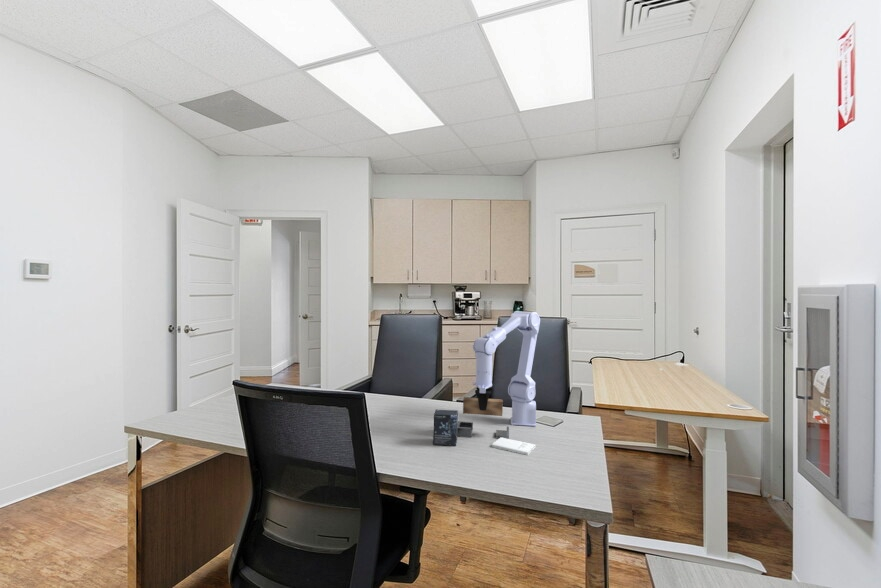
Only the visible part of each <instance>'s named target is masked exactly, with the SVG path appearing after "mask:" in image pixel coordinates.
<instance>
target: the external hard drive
mask: <svg viewBox="0 0 881 588" xmlns="http://www.w3.org/2000/svg"><path fill="white" fill-rule="evenodd" d="M536 447H537V445H536V444H535V443H530V442H529V443H528V442H524V441H520V440H516V439H511V438H509V439H507V438H502V437H500V438H497V439H496V441H495V440H494V442H493V443H491V448H494V449H498V450H502V449H503V451H507V450H508V452H511V451H512V453H516V452H517V453H516V454H520V453H521V455H526V456H529V455H530V454H531V453H532V451H534V449H535V448H536Z"/></svg>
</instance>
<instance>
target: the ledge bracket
mask: <svg viewBox="0 0 881 588" xmlns="http://www.w3.org/2000/svg"><path fill="white" fill-rule="evenodd" d="M509 434H510V426H506V430H504V429H503V430H502V429H496V430H495V439H499V438H500V437H502V438H507V439H510V438H509V436H510V435H509Z"/></svg>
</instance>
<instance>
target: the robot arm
mask: <svg viewBox="0 0 881 588" xmlns="http://www.w3.org/2000/svg"><path fill="white" fill-rule="evenodd" d="M540 324H541V318H540V316H539V313H537V312H536V311H520V310H516V311H513V312H512V313H511V314H510V318H509V319H507V320H506V321H505V322H504V323H503V324H502V325H501V326H494V327H492V328H491V330H490V331H489V332H488V333H485V334H484V336H482V337H478V338H476V339H475V340H474V342H473V345H472V350H473V352H474V356H475V359H476V362H475V363H476V364H475V381H473V382H472V386H475V387H476V389H475V391H474V393H475V395H476V398H478V402H479V408H480V410H484V411H486V408H487V402H488V399H490V395H491V394H492V389H493V354H495V352H496V350H497V348H498V346H499V345H500V344H501V343H503V342H504V341H505V340H506V338H507V334H509V333H511V332H512V331H514V330H515V329H517V330H518V331H519V332H520V333H521V334H522V343H521V347H520V348H521V349H520V354H519V359H518V360H519V361H518V367H517V370H516V371H517V373H516V374H515V375H514V376H512V377H511V378H510V382H509V384H508V388H507V394H508V395H509V396H510V399H511V404H512V405H511V417H510V424H511V425H513V426H514V425H515V426H528V427H536V423H537V403H536V401H535V400H534V399H535V397H536V392H537V391H536V383H537V382H536V381H535V380H534V379H533V378H532V377H531V375H532V370H533V369H532V368H533V362H534V357H535V352H536V351H535V350H536V345H537V338H538V334H539V330H540Z"/></svg>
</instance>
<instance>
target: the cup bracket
mask: <svg viewBox="0 0 881 588" xmlns="http://www.w3.org/2000/svg"><path fill="white" fill-rule="evenodd" d="M473 426H474V422H472V421H464V420H463V421H462V420H458V427H457V437H462V438H463V437H466V438H472V435H473V430H474V428H473Z"/></svg>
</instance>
